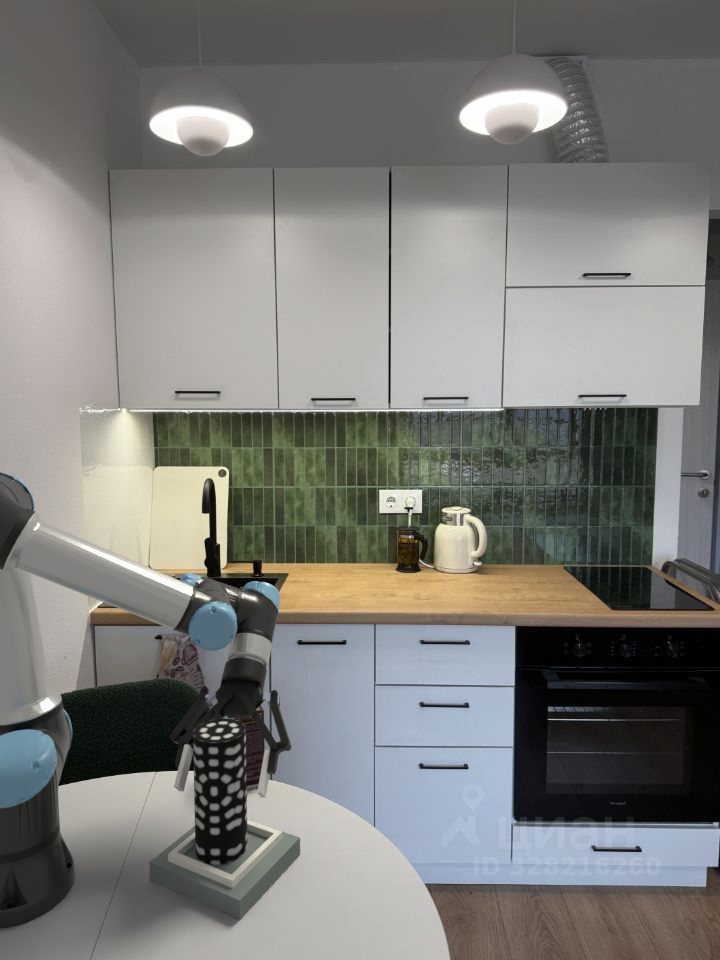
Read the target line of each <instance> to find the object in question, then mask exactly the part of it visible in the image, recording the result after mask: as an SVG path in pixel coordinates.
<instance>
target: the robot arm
mask: <svg viewBox="0 0 720 960" xmlns="http://www.w3.org/2000/svg"><path fill="white" fill-rule="evenodd" d="M35 507H36V506H35V500H34V496H33V494H32V491H31V490H30V488H29V487H28V485H26V483H25V482H24V481H22V480H21V479H20V478H19V477H16V476H15V475H13V474H9V473H7V472H0V928H6V927H7V928H8V927H11V926H12V927H13V926H16V925H21V924H22V923H25V922H28V921H31V920H34V919H36V918H37V917H39V916H41V915H43V914H45V913H47V912H49V911H50V910H51V909H53V908H55V906H57V905H58V904H59V903H60V902H61V901H62V900H63V899H64V898H66V896H67V895H68V893H69V892H70V890H71V889H72V887H73V885H74V882H75V877H76V873H75V861H74V858H73V856H72V854H71V852H70V851H71V850H70V849H69V847H68V845H67V843H66V840H65V839H64V837H63V835H62V832H61V827H60V826H61V825H60V806H59V786H60V785H59V784H60V781H61V776H62V773H63V769H64V766H65V762H66V759H67V756H68V753H69V751H70V748H71V744H72V740H73V727H72V722H71V719H70V715H69V714H68V712H67V710H65V709H64V704H63V698H62V695H61V693H59V692H57V691H55V690H54V689H51V685H50V679H49V674H48V669H47V663H46V657H45V650H44V644H43V638H42V633H41V627H40V621H39V615H38V610H37V603H36V597H35V592H34V587H33V581H32V580H33V579H32V575H35V576H36V577H40V578H42V579H44V580H46V581H49V582H52V583H54V584H57V585H59V586H62V587H64V588H66V589H69V590H72V591H74V592H77V593H80V594H83V595H84V596H87V597H90V598H93V599H95V600H97V601H99V602H103V604H106V605H110V606H112V607H115V608H116V609H120V610H123V611H125V612H127V613H130V614H132V615H135V616H138V617H140V618H143V619H145V620H147V621H150V622H153V623H155V624H157V625H160V626H162V627H165V628H168V629H171V630H172V631H176V632H178V633H180V634H181V635H184V636H187V637H189V638H190V640H191V641H192V642H193V643H194V644H195V645H196V646H197V647H198V648H199V649H202V650H204V651H208V652H216V651H219V650H222V649H224V648H226V647H227V646H228V649H227V650H228V651H227V655H226V660H227V661H226V662H225V663H224V666H223V672H222V676H221V681H220V685H219V688H218V689H217V690H216V689H215V690H214V689H209V688H208V687H207V686H202V687H201V688H200V691H199V693H198V696H197V698H196V700H194V703H193V704H192V705H191V707H190V708H189V709H188V710H187V712H186V713H185V715H183V717H182V719H181V720H180V721H179V722H178V723H177V725H176V726H175V728H174V729H173V731H172V732H171V733H170V735H169V738H170V740H171V741H173V742H174V743H175V744H176V745H178V749H177V752H176V756H175V760H174V764H175V766H176V767H177V768H178V769H177V774H176V777H175V781H174V786H173V787H174V789H176V790H177V791H179V792H185V788H186V784H187V779H188V775H189V771H190V767H191V763H192V760H193V757H194V754H193V747H192V746H193V731H194V729H195V728H196V727H197V726H198V725H200V724H202V723H204V722H207V721H210V720H214V719H225V717H227V719H234V718H237V717H238V718H241V719H246V718H248V717H249V716H252V718H253V720H254V721H255V723H256V725H257V726H258V728H259V730H260V731H261V733H262V735H263V736H264V741H265V742H266V743H267V745H268V746H269V749H266V748H265V752H264V757H263V763H262V769H261V774H260V780H259V785H258V788H257V791H256V794H258V795H259V797H260V798H263V799H264V798H266V797H267V793H268V792H267V791H268V786H269V779H270V775H276V772H277V770H278V769H277V768H278V763H279V756H280V754H281V753H283V752H285V751H286V752H289V751H291V749H292V743H291V741H290V737H289V734H288V731H287V727H286V724H285V721H284V718H283V713H282V712H281V708H280V707H281V697H280V694H279V693H278V691H277V690H276V689H273V690H271V691H270V692H264V688H265V685H266V684H265V682H266V678H267V673H268V669H267V667H268V666H269V662H270V661H269V660H270V657H271V650H272V648H273V647H272V646H273V645H272V644H273V639H274V634H275V629H276V625H277V621H278V617H279V614H280V611H279V610H280V603H281V594H280V591H279V590H278V588H277V587H275V586H274V585H273V584H271V583H268V582H265V581H257V580H255V581H250V582H246V584H245V585H244V586H243V588H238V587H235V586H232V585H230V584H229V585H228V584H227V583H223V582H221V581H217V580H215V579H212V578H208V577H206V576H205V575H202V574H201V575H198V574H195V573H191V572H186V573H184V574H183V575H182V576H181V578H180V579H177V578H174V577H172V576H170V575H167V574H165V573H163V572H161V571H158V570H157V569H153V568H152V567H149V566H146V565H144V564H142V563H140V562H137V561H135V560H132V559H130V558H128V557H125V556H122V555H121V554H118V553H116V552H113V551H111V550H109V549H106V548H104V547H101V546H100V545H97V544H95V543H93V542H91V541H88V540H85V539H83V538H82V537H81V538H80V537H79V536H76V535H74V534H72V533H69V532H67V531H64V530H63V529H60V528H57V527H55V526H53V525H51V524H48V523H45V522H44V521H43V520H42V519H41V516H40V514H39V512H37V511H35ZM215 699H216V701H217V702H216V703H215V704H214V705H213V706H212V707H211V708H210V711H209V712H207V714H205V715H204V716H203V717H202V718H201V719H200V720H199V718H200V717H201V716H202V714H203V713H204V711H205V710H206V709H207V707H208V706H209V704H211V703H212V702H213V700H215ZM264 702H266V704H267V706H268V707H270V710H271V712H272V717H273V719H274V723H275V726H276V727H275V728H276V730H277V733H278V734H277V735H278V736H279V740H280V741H276V739H275V738H274V736H273V734H271V732H270V730H269V728H268V727H267V724H266V723H265V720H264V721H263V720H262V718H261V716H260V715H259V713H258V712H257V710H256V709H257V708H258V707H259V706H260V705H261V706H262V705H263V703H264ZM198 720H199V721H198ZM197 721H198V722H197Z"/></svg>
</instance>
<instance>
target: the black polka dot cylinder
mask: <svg viewBox="0 0 720 960" xmlns="http://www.w3.org/2000/svg"><path fill="white" fill-rule="evenodd" d="M192 746H193V747H192V748H193V785H194V786H193V787H194V788H193V792H194V794H193V795H194V796H193V797H194V826H195V848H196V856H197V857H198V859H200V860H201V861H202V862H205V863H208V864H214V865H218V864H226V863H229V862H232V861H234V860H236V859H238V858H239V857H240V856H242V855H243V854H244V852H245V851H246V849H247V819H248V795H247V794H248V793H247V792H248V791H247V779H246V727H245V725H244V724H243V723H242V722H240V721H238V720H235V719H234V718H223V719H214V720H210V721H207V722H204V723H202V724H200V725H198V726H197V727H196V728H195V729H194V731H193V745H192Z"/></svg>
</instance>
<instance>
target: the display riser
mask: <svg viewBox="0 0 720 960" xmlns="http://www.w3.org/2000/svg"><path fill="white" fill-rule="evenodd" d="M300 855H301V837H299V836H297V835H293V834H290V833H288V832H285V831H282V830H279V829H276V828H273V827H271V826H268V825H264V824H262V823H259V822H256V821H254V820H250V819H248V818H247V849H246V851H245V852H244V854H243V855H242V856H240V857H239V858H238V859H236V860H234V861H232V862H229V863H226V864H218V865H214V864H208V863H205V862H202V861H201V860H200V859H198V857H197V856H196V848H195V825H193V826H192V827H191V828H190V829H189V830H187V831H186V832H185V833H184V834H183V835H181V836H180V837H179V838H178V839H176V840H175V841H174V842H172V843H171V844H170V845H169V846H168V847H166V848H165V849H164V850H163V851H162V852H160V853H158V855H156V856H155V857H154V858H153V859H152V860H150V861H149V880H150V881H152V882H155V883H156V884H159V885H161V886H163V887H166V888H167V889H171V890H172V891H174V892H177V893H179V894H181V895H183V896H185V897H187V898H190V899H193V900H195V901H197V902H200V903H201V904H204V905H206V906H209V907H211V908H213V909H215V910H217V911H219V912H222V913H225V914H227V915H228V916H231V917H233V918H236V919H238V920H241V919H243V918H244V917H245V915H246V914H247V913H248V912H249V911H250V910H251V909H252V908H253V906H255V905H256V903H257V902H258V901H259V900H260V899H261V898H262V897H263V896H264V894H266V892H267V891H268V890H269V889H270V888H271V887H272V886H273V885H274V884H275V883H276V882H277V881H278V879H279V878H280V877H281V876H282V875H283V874H284V873H285V872H286V871H287V870H288V868H289V867H290V866H291V865H292V864H293V863H294V862H295V861H296V860H297V858H299V857H300Z"/></svg>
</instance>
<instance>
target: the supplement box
mask: <svg viewBox="0 0 720 960" xmlns="http://www.w3.org/2000/svg"><path fill="white" fill-rule="evenodd" d="M256 710H257V712H258V713H259V715H260V716H261V718H262V720H263V721H264V722H265V710H264V708H263V706H262V704H261V705H260V706H259V707H258V708H257V709H256ZM233 719H235V720H238V721H240V722H242V723H243V724H244V725H245V727H246V779H247V790H254V789H258V785H259V780H260V774H261V769H262V763H263V757H264V752H265V749H266V748H265V738H264V736H263V735H262V733H261V731H260V730H259V728H258V726H257V725H256V723H255V721H254V720H253V718H252V716H249V717H248V718H246V719H241V718H238V717H237V718H233Z"/></svg>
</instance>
